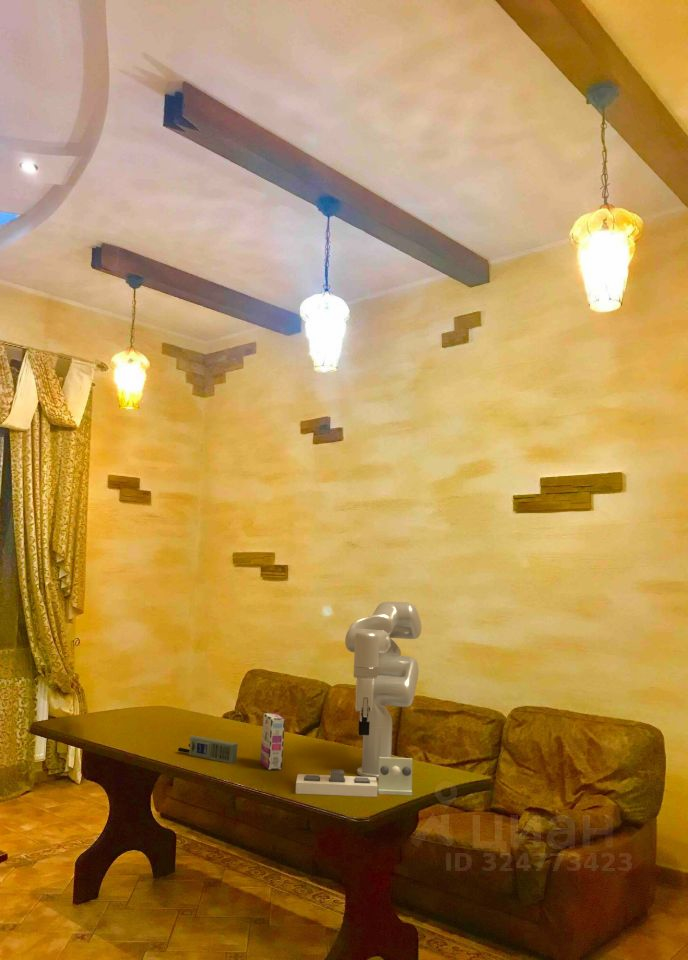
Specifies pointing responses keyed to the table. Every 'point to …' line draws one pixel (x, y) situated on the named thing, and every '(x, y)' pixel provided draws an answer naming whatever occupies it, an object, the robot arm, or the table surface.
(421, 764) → the table surface
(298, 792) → the button board
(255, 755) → the table surface
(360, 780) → the right button
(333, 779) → the middle button
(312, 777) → the left button
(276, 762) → the candy bar box
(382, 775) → the pattern placard
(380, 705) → the robot arm
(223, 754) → the handheld radio
